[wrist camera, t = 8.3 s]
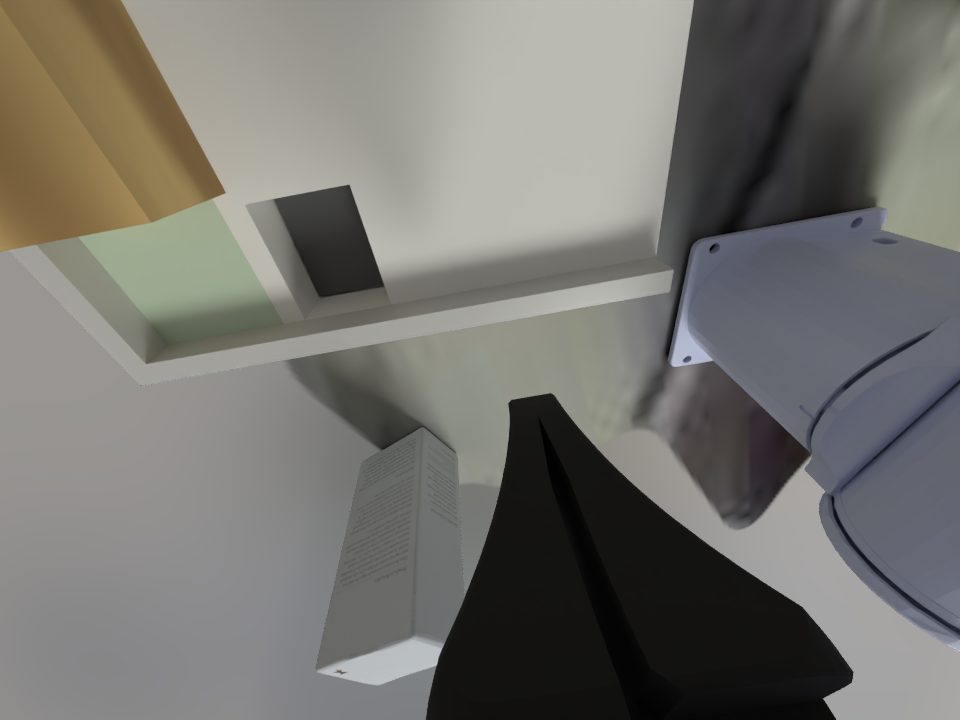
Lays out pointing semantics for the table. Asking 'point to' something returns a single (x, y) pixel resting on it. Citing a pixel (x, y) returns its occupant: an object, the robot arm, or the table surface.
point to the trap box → (387, 176)
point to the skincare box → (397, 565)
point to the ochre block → (88, 126)
